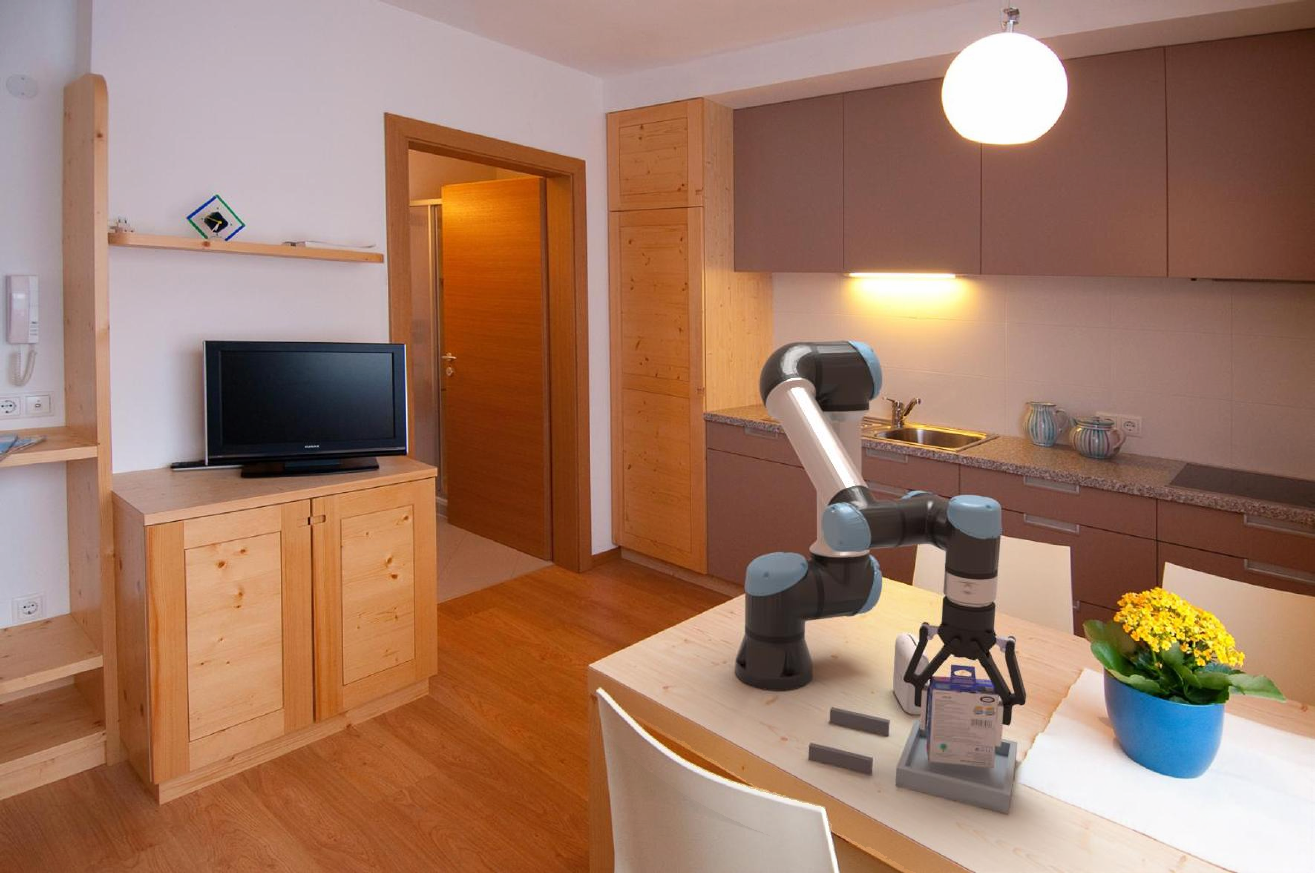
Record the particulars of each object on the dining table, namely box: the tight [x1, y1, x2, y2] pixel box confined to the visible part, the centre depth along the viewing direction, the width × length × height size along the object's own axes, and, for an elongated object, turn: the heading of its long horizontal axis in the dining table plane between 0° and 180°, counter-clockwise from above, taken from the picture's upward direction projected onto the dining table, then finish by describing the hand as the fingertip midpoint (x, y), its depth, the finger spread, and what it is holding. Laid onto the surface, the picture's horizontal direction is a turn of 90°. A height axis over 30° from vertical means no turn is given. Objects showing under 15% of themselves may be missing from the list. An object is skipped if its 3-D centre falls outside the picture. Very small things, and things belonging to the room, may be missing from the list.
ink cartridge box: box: [926, 664, 1000, 768], centre depth 131 cm, size 10×6×14 cm, turn 79°
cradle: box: [807, 706, 891, 776], centre depth 141 cm, size 10×14×2 cm
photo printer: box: [892, 632, 930, 716], centre depth 155 cm, size 10×4×12 cm, turn 179°
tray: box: [895, 719, 1018, 814], centre depth 133 cm, size 16×16×3 cm
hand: (960, 733), depth 132 cm, fingers closed on ink cartridge box, 10 cm apart
